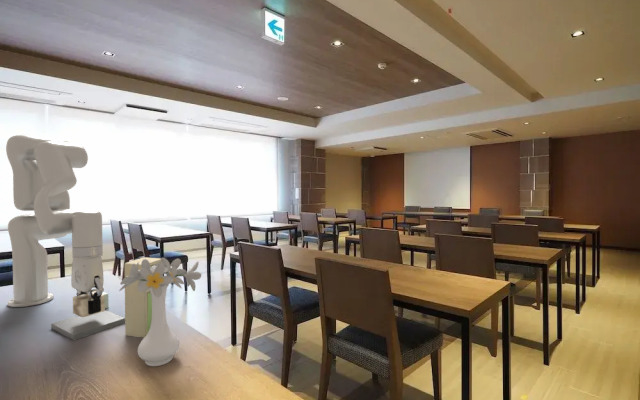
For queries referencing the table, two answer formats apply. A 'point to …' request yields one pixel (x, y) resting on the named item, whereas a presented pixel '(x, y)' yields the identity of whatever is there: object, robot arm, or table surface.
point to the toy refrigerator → (138, 303)
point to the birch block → (85, 305)
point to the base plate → (87, 324)
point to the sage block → (106, 299)
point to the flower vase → (159, 306)
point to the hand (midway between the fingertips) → (89, 309)
